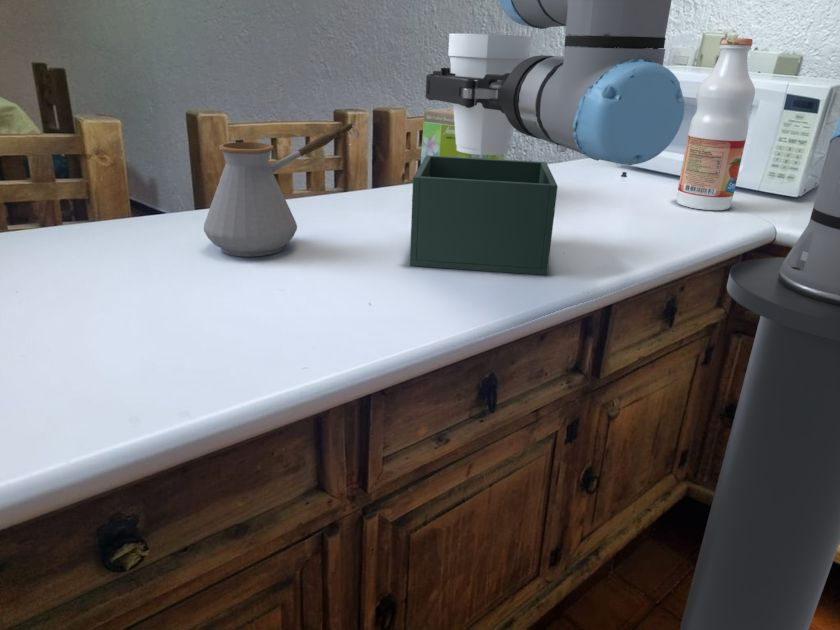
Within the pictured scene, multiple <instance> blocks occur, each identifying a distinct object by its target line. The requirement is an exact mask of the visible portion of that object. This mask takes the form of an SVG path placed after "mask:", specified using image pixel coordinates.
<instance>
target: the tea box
mask: <svg viewBox="0 0 840 630" xmlns="http://www.w3.org/2000/svg"><path fill="white" fill-rule="evenodd" d="M422 122H423V125H422V140H421V151H420V153H421V154H420V164H421V163H422V162H423V160H424V158H425V157H426V155H429V156H447V157H464V158H486V159H500V160H505V154H503V155H477V154H468V153H462V152H459V151H457V145H456V138H455V123H454V109H453V107H447V108H437V109H428V110H424V112H423V121H422Z"/></svg>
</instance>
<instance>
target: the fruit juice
mask: <svg viewBox="0 0 840 630" xmlns="http://www.w3.org/2000/svg"><path fill="white" fill-rule="evenodd" d="M752 46H753V38H747V37H745V38H744V37H721V39H720V41H719V49H720V51H719V56H718V58H717V61H716V63H715V64H714V67H713V68H712V70H711V72H710V73H709V74H708V76H707V77H706V78H705V79H704V80H702V82H701V83H700V84H699V86H698V88H697V92H696V95H695V98H696V110H695V113H694V115H693V116H692V119H691V121H690V125H689V128H688V133H687V137H686V138H687V139H686V144H685V149H684V154H683V158H682V164H681V170H680V175H679V181H678V185H677V190H676V199H675V201H676V203H677V204H678V205H681V206H683V207H688V208H691V209H696V210H704V211H725V210H728V209H730V208H731V205H732V202H733V200H734V194H735V190H736V185H737V180H738V177H739V173H740V167H741V163H742V158H743V155H744V149H745V145H746V142H747V141H746V140H747V137H748V131H749V119H748V115H749V111H750V109H751V107H752V105H753V103H754V100H755V95H756V90H755V89H756V88H755V84H754V83H753V81H752V79H751V76H750V74H749V68H748V65H749V64H748V55H749V51H750V50H751V49H752Z"/></svg>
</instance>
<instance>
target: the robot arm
mask: <svg viewBox="0 0 840 630" xmlns="http://www.w3.org/2000/svg"><path fill="white" fill-rule="evenodd" d="M498 3H499V5H500V9H502V11H503V12H504V13H505V15H506V16H507V17H508V18H509V19H510V20H512V21H513V22H514V23H516V24H518V25H522V26H525V27H530V28H533V29H539V30H545V29H548V28H556V27H557V28H558V27H565V34H564V36H565V37H564V44H563V46H564V50H563V51H564V52H563V55H544V54H543V55H541V54H540V55H533V56H530V57H529V58H528V59H526V60H524V61H522V62H521V63H519V64H518V65H517V66H516V67H515V68H514V69H513V70H512V72H511V73H505V74H504V75H500V74H486V75H485V77H484V78H475V77H463V76H455V74H453V73H451V67H440V70H433V71H432V73H429V74H426V77H425V99H426V100H429V101H439V102H444V103H450V104H453V103H455V104H460V105H462V106H465V107H466V108H471V107H473V106H474V105H477V103H481V104H482V106H483V107H484V108H485V109H493V110H500V111H501V112H502V113H504V114H505V115H506V118H507V119H508V121H509V123H510V124H511V125H512V126H513V129H515V130H516V131H517V132H518V133H521V134H523V135H526V136H529V137H532V138H535V139H538V140H542V141H546V142H547V143H551V144H554V145H556V150H557V151H558V152H559V153H564V152H567V150H568V149H569V150H571V151H574V152H576V153H579V154H582V155H584V156H585V157H587V158H589V159H592V160H593V161H597V162H598V161H599V160H600V161H603V162H609V163H613V164H620V165H624V166H625V165H626V166H633V165H639V164H643V163H646V162H648V161H650V160H652V159H655V158H656V157H657V156H659V155H660V154H661V153H663V152H664V151H665V150H666V149H667V148H668V147H669V146H670V145H671V144H672V142H673V140H675V138H676V136H677V134H678V132H679V130H680V128H681V126H682V123H683V121H684V115H685V103H686V102H685V99H684V96H683V91H682V88H681V82H680V81H679V79H678V77H677V76H676V75H675V74H674V73H673V72H672V70H670V69H669V68H667V67H666V66H664V60H665V54H666V48H665V44H666V41H667V38H666V35H667V28H668V24H669V17H670V11H671V7H672V6H671V5H672V0H498ZM498 80H502V81H499V82H497V81H498ZM828 142H829V143H828V148H827V151H826V155H825V159H824V163H823V168H822V171H821V175H820V179H819V183H818V187H817V190H816V195H815V200H814V202H813V207H812V210H811V214H810V217H809V221H808V224H807V226H806V227H805V229H804V230H803V231H802V233H801V235H800V236H799V238H798V239H797V241H796V242H795V243H794V244H793V246H792V248H791V249H790V251H789V252H788V253H787V255H786V257H784V258H785V260H784V261H783V264H782V267H781V268H780V272H779V276H778V280H779V282H780V283H781V284H782V285H784V286H785V287H786V288H788V289H790V290H792V291H794V292H796V293H798V294H800V295H803V296H806V297H808V298H811V299H815V300H818V301H821V302H825V303H829V304H833V305H837V306H840V115H839V117H838V119H837V121H836V125H835V127H834V130H833V133H832V135H831V136H830V138H829V141H828Z"/></svg>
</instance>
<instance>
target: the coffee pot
mask: <svg viewBox="0 0 840 630" xmlns="http://www.w3.org/2000/svg"><path fill="white" fill-rule="evenodd" d="M352 129H354V130H355V132H356V136H355V135H353V133H352V132H351V130H352ZM344 133H349V134H350V136H351V137H352V138H354V139H358V138H359V137H360V133H359V130H358V128H357V127H356V126H355V125H354V124H353V123H346V124H343V126H342V127H336V128H335V129H334V131H331V132H329V133H325V134H323V135H320V136H319V137H317V138H315V139H314V140H312V141H311V142H308V143H307V144H306V145H304V146H303V147H301V148H299V149H298V150H297V151H294V152H292V153H290V154H289V155H287V156H285V157H283V158H281V159H279V160H277V161H274V162H273V163H271V164H270V155H271V152H272V151H274V145H273V144H271V143H263V142H251V141H249V142H248V141H242V142H241V141H240V142H239V141H237V142H226V143H221V144H220V145H218V150H220V151H222V154H223V158H224V161H225V165H224V167H223V169H222V173H221V176H220V179H219V181H218V185H217V187H216V190H215V192H214V195H213V198H212V201H211V204H210V207H209V209H208V213H207V215H206V218H205V221H204V223H203V232H204V234H205V236H206V238H208V240H209V241H210V242H211V243H212V244H213V245H214V246H216V247H218V248H220V251H221V252H223V253H225V254H227V255H231V256H236V257H251V258H252V257H263V256H264V257H265V256H269V255H273V254H276V253H279V252H280V251H282V250H283V248H284V246H285V245H287V244H288V243H289V242H290V241H291V240H292V239H293V238H294V236H295V235H296V232H297V229H298V225H297V222H296V219H295V217H294V215H293V213H292V210H291V208H290V207H289V204H288V202H287V200H286V198H285V196H284V194H283V192H282V189H281V187H280V185H279V183H278V181H277V180H278V179H276V176H275V174H274V172H276V171H278V170H280V169H281V168H283V167H285V166H286V165H288V164H290V163H292V162H293V161H295V160H297V159H299V158H300V157H304V156H306V155H308V154H310V153H312V152H314V151H316V150H318V149H321V148H322V147H325V146H327V145H328V144H330V143H331V142H332V141H333V140H334V139H336V138H342V136H343V134H344Z"/></svg>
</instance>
